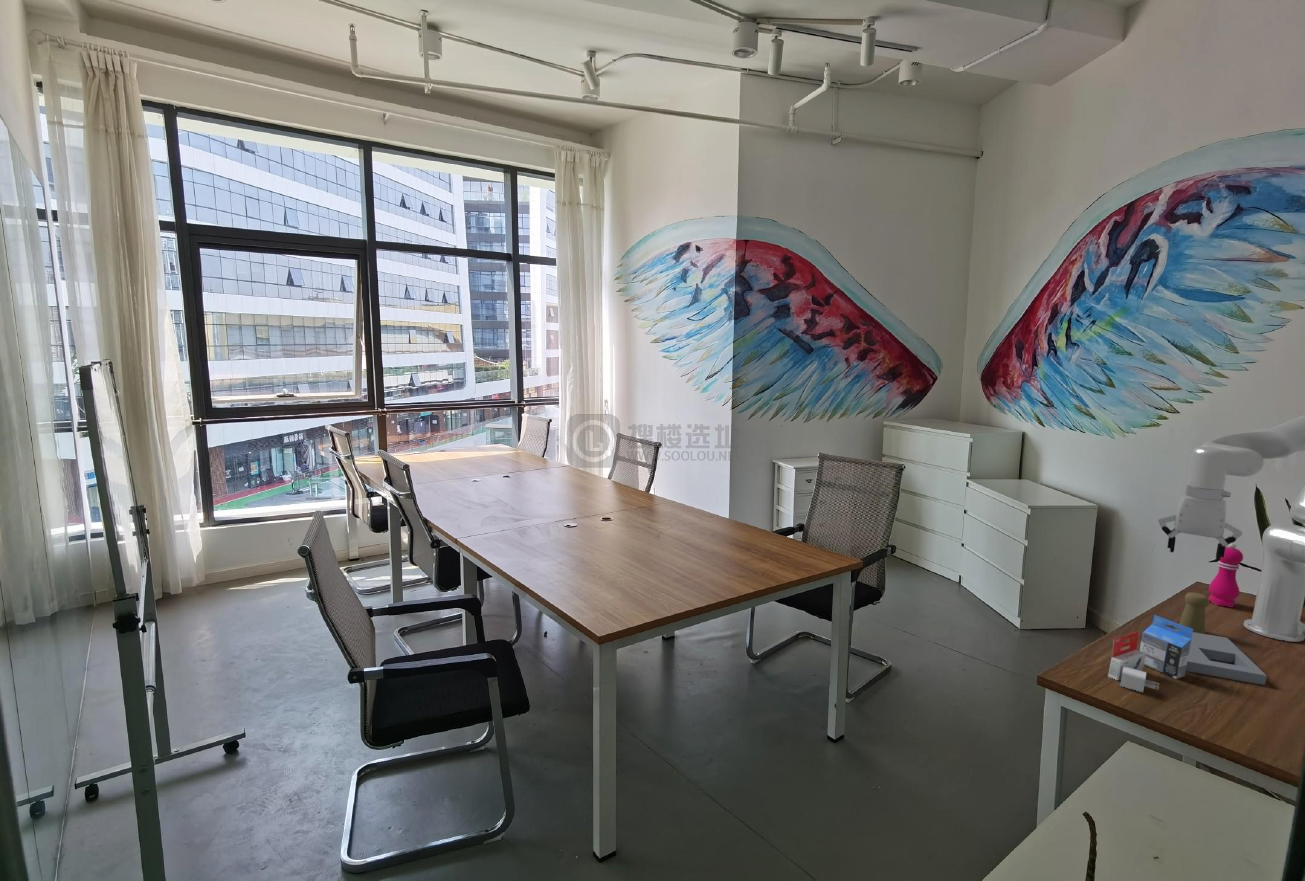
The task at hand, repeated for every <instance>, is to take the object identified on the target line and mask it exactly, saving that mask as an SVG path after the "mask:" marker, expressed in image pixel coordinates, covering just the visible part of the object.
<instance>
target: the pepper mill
mask: <svg viewBox="0 0 1305 881" xmlns="http://www.w3.org/2000/svg"><path fill="white" fill-rule="evenodd" d="M1236 547H1237V546H1236V543H1235V542H1233V543H1231V544H1229V545H1227V546H1226V547H1225V553H1224V557H1221V558H1220V561H1219V560H1217V561H1218V563H1217V566H1218V572H1217V574H1216V575H1215V577H1214V578H1213V579H1212V581H1211V582H1210V584H1209V587H1208V591H1209V592H1210V595H1208V596H1209V597H1208V600H1210V601H1211V602H1213V603H1215V604H1217V605H1216V606H1218V605H1222V606H1228V607H1230V606H1231V607H1232V606H1236V600H1235V599H1236V598H1238V597H1239V596H1240V587H1239V585H1238V582H1237V578H1236V576H1237V575H1236V574H1237V570H1239V569H1240V563H1242V561H1243V560H1244V555H1243V552H1242V551H1241V550H1239V549H1237V548H1236ZM1215 604H1214V605H1215ZM1222 606H1221V607H1222ZM1228 607H1227V608H1228Z"/></svg>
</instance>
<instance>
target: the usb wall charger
mask: <svg viewBox="0 0 1305 881" xmlns="http://www.w3.org/2000/svg"><path fill="white" fill-rule="evenodd" d="M1146 677H1147V671H1144V670H1143V671H1140V670H1136V669H1132V668H1129V667H1125V666H1123V671H1122V677H1121V680H1120V682H1119V687H1121V686H1122V687H1121V688H1124V687H1125V688H1126V689H1128V690H1131V689H1132V691H1134V690H1136V691H1135V692H1137V693H1141V692H1142V693H1141V694H1143V693H1144V689H1145V687H1147V688H1149V689H1154V690H1159V689H1160V683H1158V682H1156V681H1153V680H1150V679H1149V680H1148V679H1146Z"/></svg>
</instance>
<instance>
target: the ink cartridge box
mask: <svg viewBox="0 0 1305 881" xmlns="http://www.w3.org/2000/svg"><path fill="white" fill-rule="evenodd" d="M1126 638H1127V639H1128V641H1126V642H1123V641H1125V640H1126ZM1138 639H1139V631H1138V630H1137V631H1134V632H1132V633H1128V634H1125V635H1122V636H1119V637H1116V638H1114V639H1113V642H1112V654H1111V660H1110V664H1109V670H1108V674H1107V676H1108V678H1109V679H1112V678H1113V679H1112V680H1114V679H1115V680H1114V681H1116V680H1119V681H1121V677H1122V671H1123V666H1125V667H1129V668H1132V669H1136V670H1140V671H1143V672H1144V666H1145V665H1144V661H1145V656H1146V653H1144V652H1142V651H1140V649H1139V650H1138Z"/></svg>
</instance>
